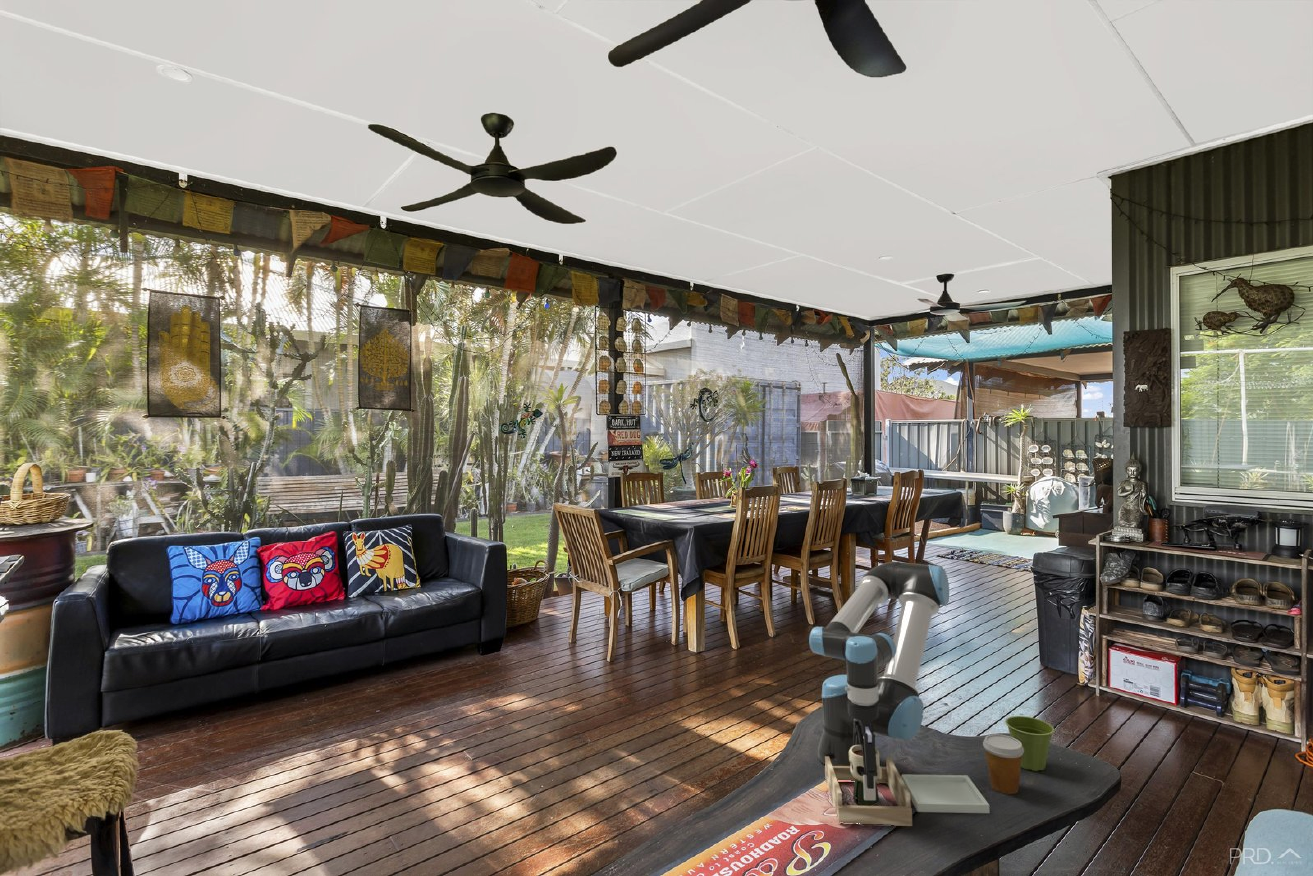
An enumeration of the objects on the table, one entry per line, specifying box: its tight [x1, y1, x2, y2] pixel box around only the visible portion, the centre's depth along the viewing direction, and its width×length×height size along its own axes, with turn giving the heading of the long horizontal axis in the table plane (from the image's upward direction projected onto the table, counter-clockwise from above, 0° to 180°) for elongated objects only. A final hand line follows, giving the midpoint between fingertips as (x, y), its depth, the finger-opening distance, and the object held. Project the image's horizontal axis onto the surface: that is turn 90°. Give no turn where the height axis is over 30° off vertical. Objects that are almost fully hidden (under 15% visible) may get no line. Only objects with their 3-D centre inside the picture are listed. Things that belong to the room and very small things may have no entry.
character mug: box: [849, 744, 882, 806], centre depth 166 cm, size 11×7×13 cm, turn 27°
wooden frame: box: [824, 756, 913, 827], centre depth 166 cm, size 20×17×7 cm
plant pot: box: [1004, 715, 1055, 772], centre depth 182 cm, size 12×12×11 cm
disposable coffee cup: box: [982, 733, 1024, 795], centre depth 171 cm, size 10×10×12 cm
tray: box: [900, 773, 990, 814], centre depth 167 cm, size 14×17×2 cm
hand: (865, 789), depth 166 cm, fingers closed on character mug, 9 cm apart
